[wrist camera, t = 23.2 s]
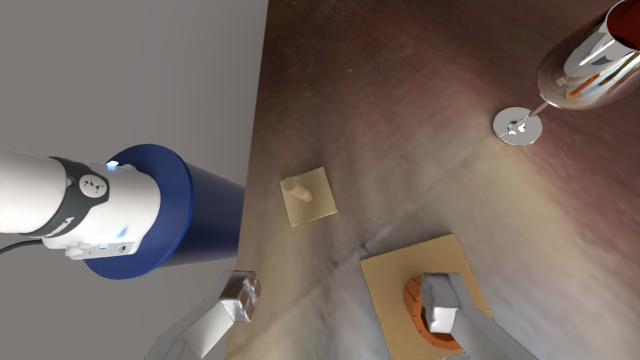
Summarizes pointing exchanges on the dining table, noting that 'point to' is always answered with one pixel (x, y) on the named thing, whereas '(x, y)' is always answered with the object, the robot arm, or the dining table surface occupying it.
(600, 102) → the wineglass
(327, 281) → the dining table surface
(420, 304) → the orange ring
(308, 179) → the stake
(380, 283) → the cork mat
